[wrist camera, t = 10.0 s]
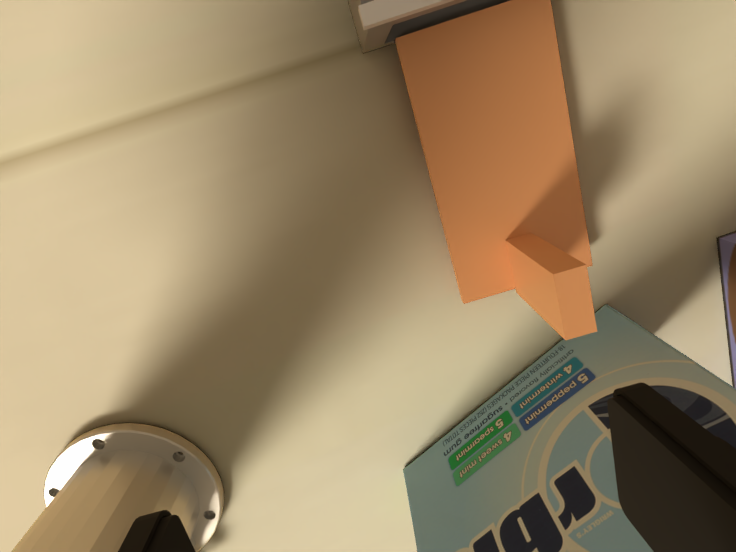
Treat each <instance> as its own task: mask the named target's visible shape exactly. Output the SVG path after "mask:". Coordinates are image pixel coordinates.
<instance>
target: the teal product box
mask: <svg viewBox="0 0 736 552" xmlns="http://www.w3.org/2000/svg"><path fill="white" fill-rule="evenodd" d="M594 314H595V320H596V326H597V332H593V333H590V334H586V335H583V336H580V337H576V338H573V339H569V340H565V339H562V340H561V341H560V342H559V343H558V344H556V345H555V346H554V347H553V348H552V349H550V350H549V351H548V352H547V353H545V354H544V355H543V356H542V357H540V358H539V359H538V360H537V361H536V362H534V363H533V364H532V365H531V366H529V367H528V368H527V369H526V370H525V371H523V372H522V373H521V374H520V375H518V376H517V377H516V378H515V379H513V380H512V381H511V382H510V383H509V384H507V385H506V386H505V387H504V388H503V389H501V390H500V391H499V392H498V393H496V394H495V395H494V396H493V397H492V398H490V399H489V400H488V401H487V402H485V403H484V404H483V405H482V406H480V407H479V408H478V409H477V410H475V411H474V412H473V413H472V414H471V415H469V416H468V417H467V418H466V419H464V420H463V421H462V422H461V423H460V424H458V425H457V426H456V427H455V428H453V429H452V430H451V431H450V432H449V433H448V434H446V435H445V436H444V437H443V438H441V439H440V440H439V441H438V442H436V443H435V444H434V445H433V446H432V447H430V448H429V449H428V450H427V451H425V452H424V453H423V454H422V455H421V456H419V457H418V458H417V459H416V460H414V461H413V462H412V463H411V464H409V465H408V466H407V467H406V468H404V469H403V472H404V476H405V482H406V487H407V493H408V499H409V505H410V511H411V516H412V522H413V528H414V534H415V540H416V546H417V552H653V550H652V549H651V548H650V546H649V545H648V544H647V543H646V541H645V540H644V539H643V538H642V536H641V535H640V534H639V532H638V531H637V530H636V529H635V527H634V526H633V525H632V524H631V522H630V521H629V520H628V518H627V517H626V515H625V514H624V512H623V510H622V508H621V505H620V502H619V498H618V490H617V482H616V474H615V465H614V457H613V449H612V440H611V432H610V424H609V415H608V407H607V401H608V399H609V398H612V397H613V393H614V390H615V389H618V388H621V387H625V386H629V385H633V384H636V383H640V382H642V383H646V384H647V385H649V386H650V387H651V388H653V389H654V390H655V391H657V392H658V393H659V394H661V395H662V396H663V397H665V398H666V399H667V400H668V401H670V402H671V403H672V404H674V405H675V406H676V407H678V408H679V409H680V410H682V411H683V412H684V413H685V414H687V415H688V416H689V417H691V418H692V419H693V420H695V421H696V422H697V423H698V424H700V425H701V426H702V427H704V428H705V429H706V430H708V431H709V432H710V433H712V434H713V435H714V436H717V437H720V438H721V439H723V440H725V441H726V442H728V443H729V444H730V445H732V446H733V447H734V448H736V389H735V388H734V387H732V386H731V385H729V384H728V383H726V382H724V381H723V380H721V379H720V378H718V377H717V376H715V375H714V374H712V373H711V372H709V371H708V370H706V369H705V368H703V367H702V366H701V365H699V364H698V363H696V362H695V361H693V360H692V359H690V358H689V357H687V356H686V355H684V354H683V353H681V352H679V351H678V350H676V349H675V348H673V347H672V346H670V345H669V344H667V343H666V342H664V341H663V340H661V339H660V338H658V337H657V336H655V335H654V334H652V333H650V332H649V331H647V330H646V329H644V328H643V327H641V326H640V325H638V324H637V323H635V322H634V321H632V320H631V319H629V318H628V317H626V316H625V315H623V314H622V313H620V312H618V311H617V310H615V309H613V308H612V307H610V306H609V305H608V304H606V305H604V306H603V307H602V308H601V309H599V310H598V311H597V312H596V313H594Z"/></svg>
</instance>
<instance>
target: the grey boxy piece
mask: <svg viewBox="0 0 736 552" xmlns="http://www.w3.org/2000/svg"><path fill="white" fill-rule="evenodd" d="M507 1H510V0H348V3H349V6H350V10H351V13H352V17H353V20H354V24H355V28H356V31H357V35H358V38H359V42H360V45H361V49H362V53H366V52H369V51H372V50H375V49H378V48H381V47H384V46H387V45H390V44H393V43H395V39H396V38H398V37H401V36H404V35H407V34H410V33H413V32H416V31H419V30H422V29H425V28H428V27H431V26H434V25H437V24H440V23H443V22H446V21H449V20H452V19H455V18H459V17H462V16H465V15H468V14H471V13H474V12H477V11H480V10H483V9H486V8H489V7H492V6H495V5H498V4H501V3H504V2H507Z"/></svg>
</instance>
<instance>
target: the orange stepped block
mask: <svg viewBox="0 0 736 552" xmlns="http://www.w3.org/2000/svg"><path fill="white" fill-rule="evenodd" d="M395 43H396V47H397V51H398V55H399V59H400V63H401V66H402V70H403V74H404V78H405V82H406V86H407V90H408V94H409V97H410V101H411V105H412V109H413V113H414V117H415V121H416V125H417V128H418V132H419V136H420V140H421V144H422V148H423V152H424V156H425V159H426V163H427V167H428V171H429V175H430V179H431V183H432V187H433V190H434V194H435V198H436V202H437V206H438V210H439V214H440V218H441V221H442V225H443V229H444V233H445V237H446V241H447V245H448V249H449V252H450V256H451V260H452V264H453V268H454V272H455V276H456V280H457V283H458V287H459V291H460V295H461V299H462V301H463V303H464V304H465V303H468V302H471V301H475V300H478V299H481V298H485V297H488V296H492V295H495V294H498V293H502V292H505V291H508V290H512V289H515V288H516V292H517V293H518V294H519V295H520V296H521V297H522V298H523V299H524V300H525V301H526V302H527V303H528V304H529V305H530V306H531V307H532V308H533V309H534V310H535V311H536V312H537V313H538V314H539V315H540V316H541V317H542V318H543V319H544V320H545V321H546V322H547V323H548V324H549V325H550V326H551V327H552V328H553V329H554V330H555V331H556V332H557V333H558V334H559V335H561V336H562V337H563V338H564V339H565V340H569V339H573V338H576V337H580V336H583V335H586V334H590V333H593V332H597V326H596V320H595V314H594V308H593V302H592V295H591V289H590V283H589V277H588V271H587V267H589V266H592V259H591V252H590V246H589V240H588V233H587V227H586V221H585V214H584V208H583V202H582V195H581V189H580V183H579V176H578V170H577V164H576V157H575V151H574V145H573V138H572V132H571V126H570V119H569V113H568V107H567V100H566V94H565V87H564V81H563V75H562V68H561V62H560V56H559V49H558V43H557V37H556V30H555V24H554V18H553V11H552V5H551V0H510V1H507V2H504V3H501V4H498V5H495V6H492V7H489V8H486V9H483V10H480V11H477V12H474V13H471V14H468V15H465V16H462V17H459V18H455V19H452V20H449V21H446V22H443V23H440V24H437V25H434V26H431V27H428V28H425V29H422V30H419V31H416V32H413V33H410V34H407V35H404V36H401V37H398V38H396V39H395Z"/></svg>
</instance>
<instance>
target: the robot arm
mask: <svg viewBox="0 0 736 552" xmlns="http://www.w3.org/2000/svg"><path fill="white" fill-rule="evenodd" d="M607 407H608V415H609V424H610V432H611V440H612V449H613V457H614V465H615V474H616V482H617V490H618V498H619V502H620V505H621V508H622V510H623V512H624V514H625V515H626V517H627V518H628V520H629V521H630V522H631V524H632V525H633V526H634V527H635V529H636V530H637V531H638V532H639V534H640V535H641V536H642V538H643V539H644V540H645V541H646V543H647V544H648V545H649V546H650V548H651V549H652V550H653V552H736V448H734V447H733V446H732V445H730V444H729V443H728V442H726V441H725V440H723V439H721V438H720V437H717V436H714V435H713V434H712V433H710V432H709V431H708V430H706V429H705V428H704V427H702V426H701V425H700V424H698V423H697V422H696V421H695V420H693V419H692V418H691V417H689V416H688V415H687V414H685V413H684V412H683V411H682V410H680V409H679V408H678V407H676V406H675V405H674V404H672V403H671V402H670V401H668V400H667V399H666V398H665V397H663V396H662V395H661V394H659V393H658V392H657V391H655V390H654V389H653V388H651V387H650V386H649V385H647V384H646V383H642V382H640V383H636V384H633V385H629V386H625V387H621V388H618V389H615V390H614V393H613V397H612V398H609V399H608V401H607ZM44 497H45V504H46V508H45V510H44V511H43V512H42V514H41V515H40V516H39V517H38V519H37V520H36V521H35V522H34V524H33V525H32V526H31V527H30V529H29V530H28V531H27V533H26V534H25V535H24V536H23V538H22V539H21V540H20V541H19V543H18V544H17V545H16V546H15V548H14V549H13V550H12V552H198V551H199V550H200V549H201V548H202V547H203V546H204V545H205V544H206V543H207V542H208V541H209V540H210V538H211V537H212V535H213V534H214V532H215V531H216V529H217V526H218V523H219V520H220V518H221V514H222V510H223V506H224V491H223V487H222V483H221V479H220V477H219V475H218V473H217V471H216V469H215V467H214V465H213V464H212V463H211V461H210V460H209V459H208V458H207V456H206V455H205V454H204V453H203V452H202V451H201V450H199V449H198V448H197V447H196V446H195V445H194V444H192V443H191V442H189V441H188V440H186V439H184V438H183V437H181V436H180V435H177V434H175V433H173V432H170V431H168V430H165V429H163V428H159V427H155V426H150V425H146V424H135V423H122V424H111V425H107V426H103V427H99V428H95V429H93V430H91V431H88V432H86V433H84V434H82V435H80V436H79V437H77V438H76V439H75V440H73V441H72V442H71V443H69V444H68V445H67V447H66V448H65V449H64V450H63V451H62V452H61V453H60V454H59V455H58V456H57V458H56V459H55V461H54V462H53V464H52V465H51V466H50V468H49V471H48V474H47V476H46V479H45V485H44Z"/></svg>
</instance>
